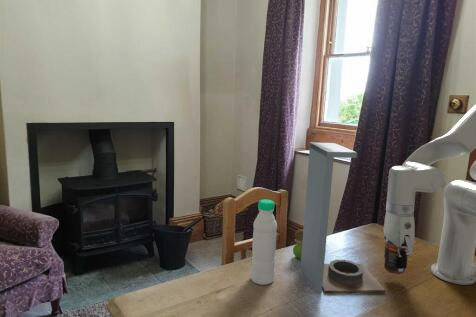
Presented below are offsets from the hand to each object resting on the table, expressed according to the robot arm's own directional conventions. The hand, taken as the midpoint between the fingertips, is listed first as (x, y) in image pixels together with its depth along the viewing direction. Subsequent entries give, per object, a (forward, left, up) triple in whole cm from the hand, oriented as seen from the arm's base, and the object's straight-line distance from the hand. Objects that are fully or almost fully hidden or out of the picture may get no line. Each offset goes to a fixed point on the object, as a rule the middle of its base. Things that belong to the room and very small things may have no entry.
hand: (395, 262), depth 109 cm
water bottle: (+41, -1, -6) cm, 42 cm away
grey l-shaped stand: (+23, -1, -6) cm, 24 cm away
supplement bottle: (0, 0, -3) cm, 3 cm away
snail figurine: (+25, -15, -6) cm, 30 cm away
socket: (+15, -1, -6) cm, 16 cm away
